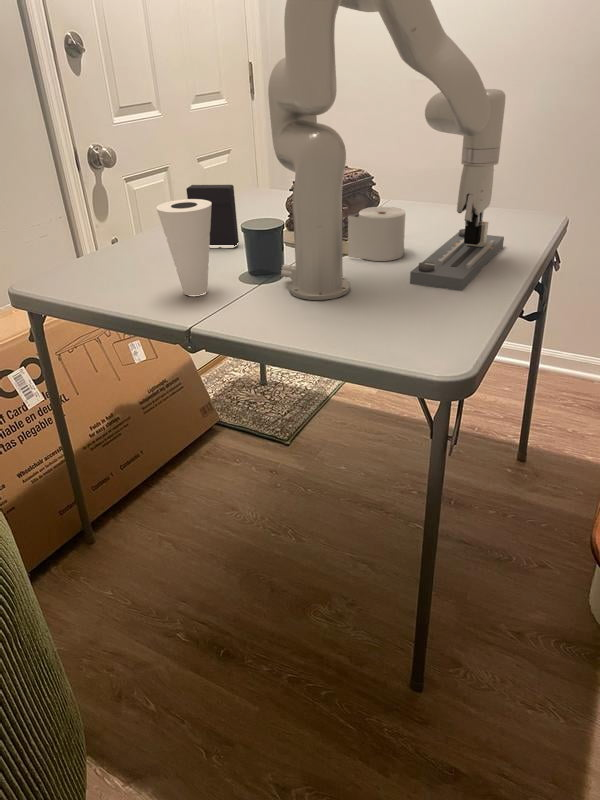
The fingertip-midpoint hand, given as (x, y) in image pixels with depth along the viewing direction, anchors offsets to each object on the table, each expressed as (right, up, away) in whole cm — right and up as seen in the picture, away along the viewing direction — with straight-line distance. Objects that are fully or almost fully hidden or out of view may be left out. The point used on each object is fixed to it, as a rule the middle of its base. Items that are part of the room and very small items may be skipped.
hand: (471, 243), depth 138 cm
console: (-3, -5, +1) cm, 5 cm away
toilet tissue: (-20, -1, +9) cm, 21 cm away
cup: (-60, -13, -8) cm, 62 cm away
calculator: (-60, +4, +20) cm, 63 cm away
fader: (+2, +1, +3) cm, 4 cm away
